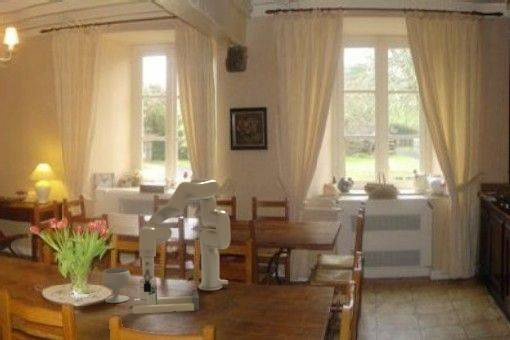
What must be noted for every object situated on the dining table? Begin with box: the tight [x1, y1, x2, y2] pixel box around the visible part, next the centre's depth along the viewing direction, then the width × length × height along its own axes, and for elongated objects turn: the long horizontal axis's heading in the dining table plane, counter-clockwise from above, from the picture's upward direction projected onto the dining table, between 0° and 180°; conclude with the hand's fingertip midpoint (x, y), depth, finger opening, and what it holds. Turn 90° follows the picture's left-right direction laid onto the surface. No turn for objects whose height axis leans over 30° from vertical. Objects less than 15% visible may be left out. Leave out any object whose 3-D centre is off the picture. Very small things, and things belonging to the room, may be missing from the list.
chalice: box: [101, 267, 132, 304], centre depth 277 cm, size 14×14×15 cm
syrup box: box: [139, 277, 158, 306], centre depth 264 cm, size 6×6×14 cm
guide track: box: [132, 289, 200, 315], centre depth 266 cm, size 30×13×6 cm, turn 100°
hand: (147, 288), depth 263 cm, fingers open, 9 cm apart
